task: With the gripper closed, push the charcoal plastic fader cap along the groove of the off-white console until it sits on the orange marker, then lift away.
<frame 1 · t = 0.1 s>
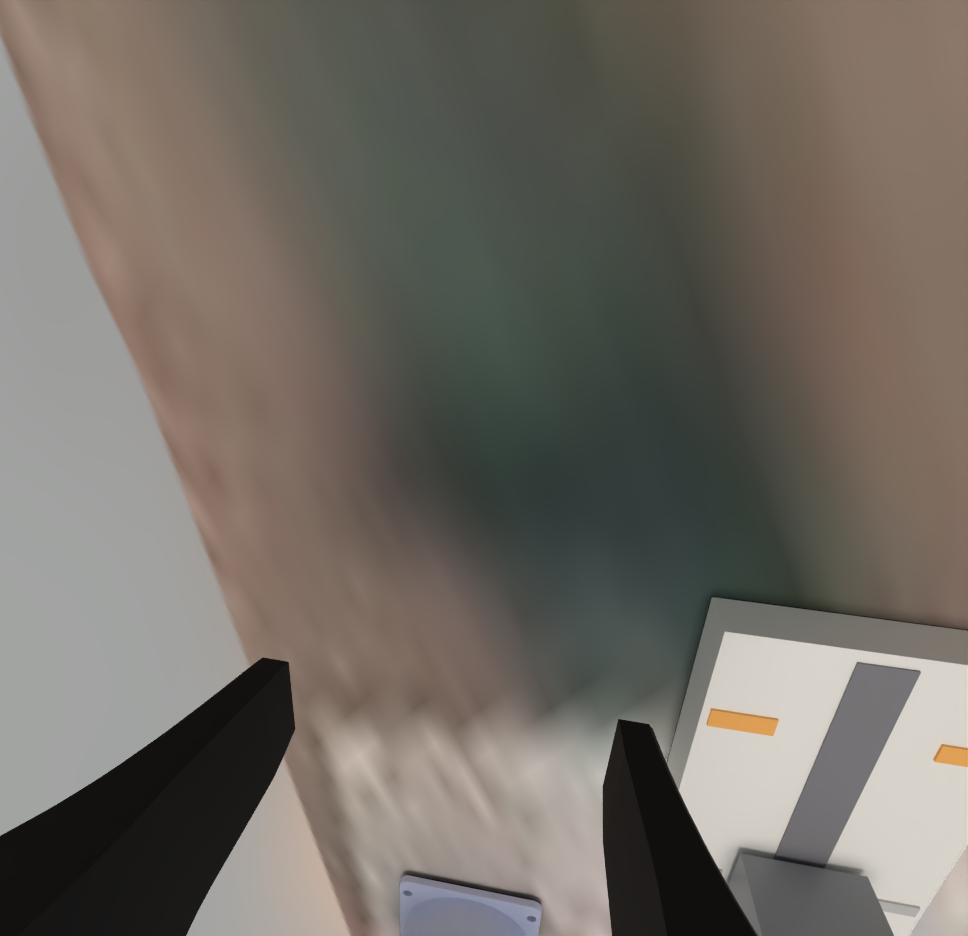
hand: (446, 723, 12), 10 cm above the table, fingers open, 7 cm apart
console: (799, 773, 24), on the table
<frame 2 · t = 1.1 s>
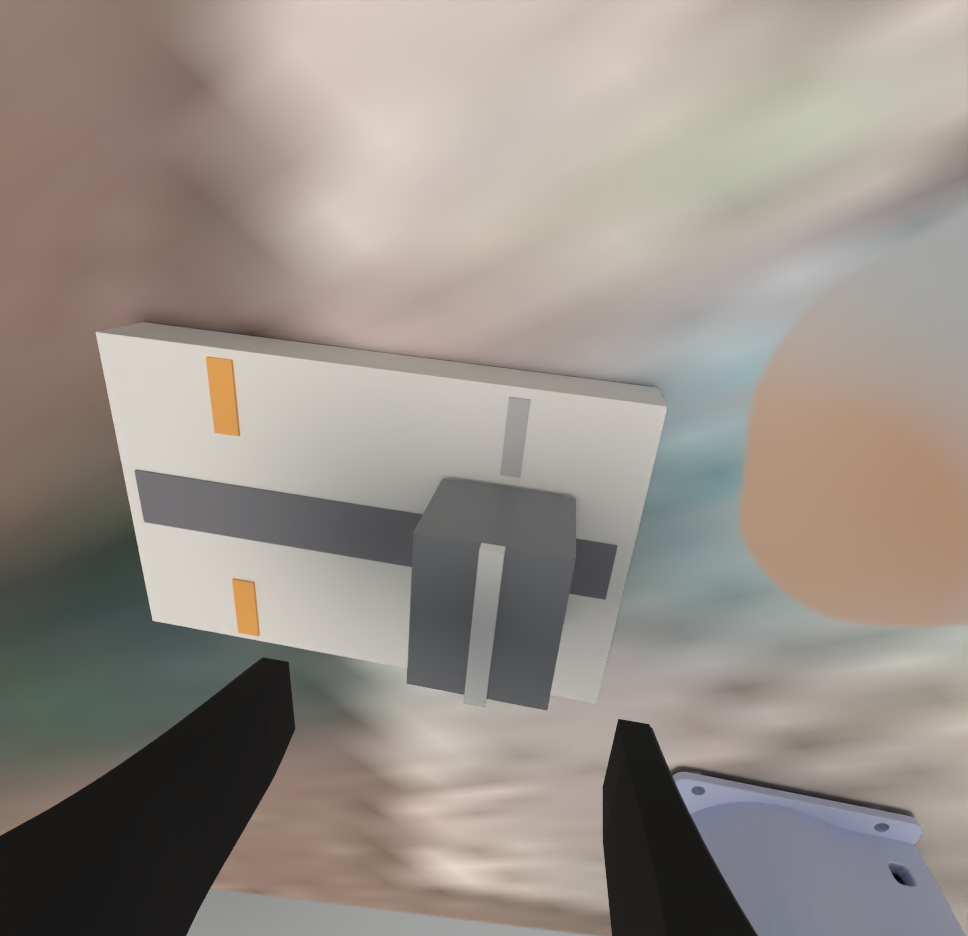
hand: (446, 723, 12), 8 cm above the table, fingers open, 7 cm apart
console: (384, 504, 20), on the table
fader cap: (491, 592, 16), point 4 cm above the table, slide at 0.0 cm
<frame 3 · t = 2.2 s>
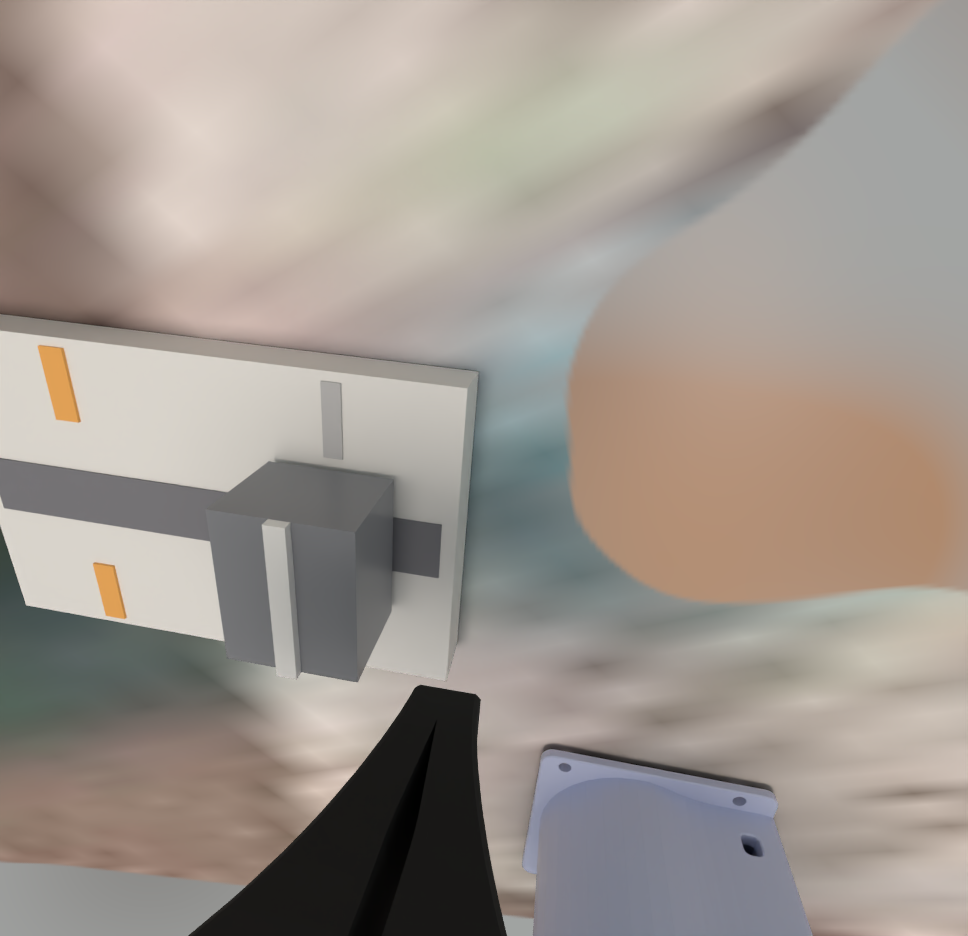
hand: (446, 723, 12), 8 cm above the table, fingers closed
console: (241, 489, 20), on the table
fader cap: (309, 570, 16), point 4 cm above the table, slide at 0.0 cm
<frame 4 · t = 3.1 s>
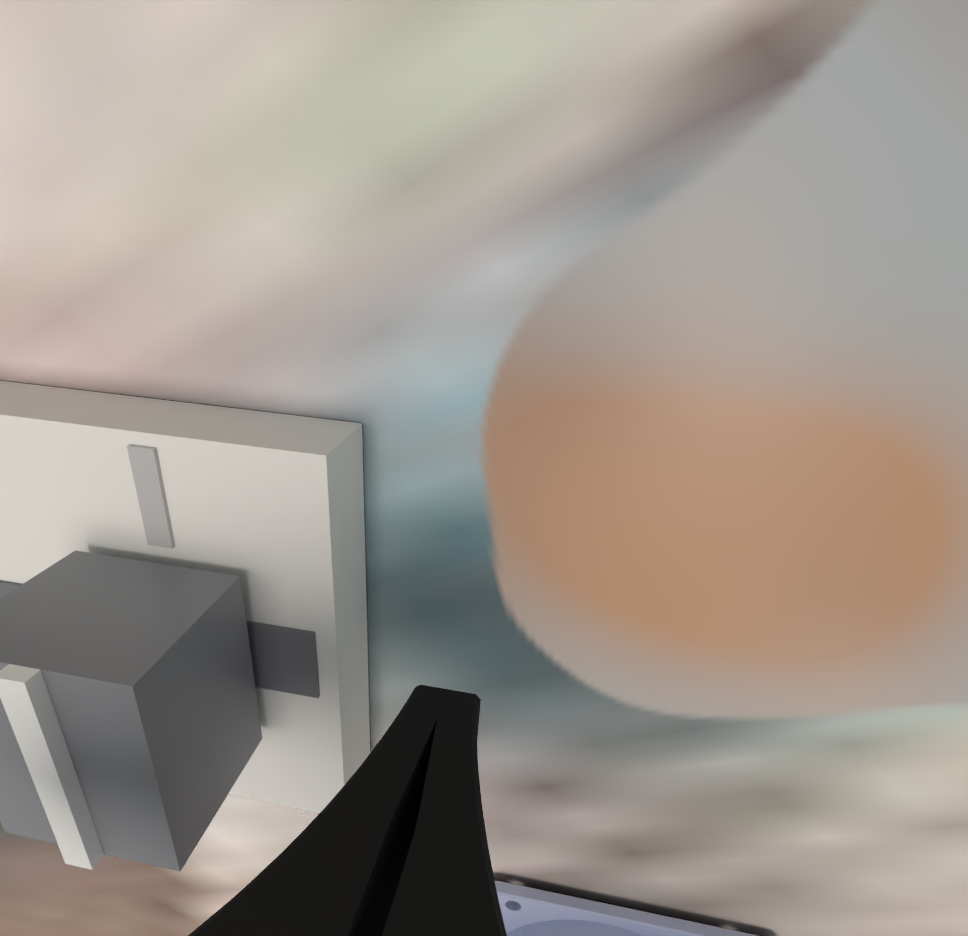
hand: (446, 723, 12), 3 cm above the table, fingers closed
console: (83, 569, 16), on the table
fader cap: (119, 707, 12), point 4 cm above the table, slide at 0.0 cm
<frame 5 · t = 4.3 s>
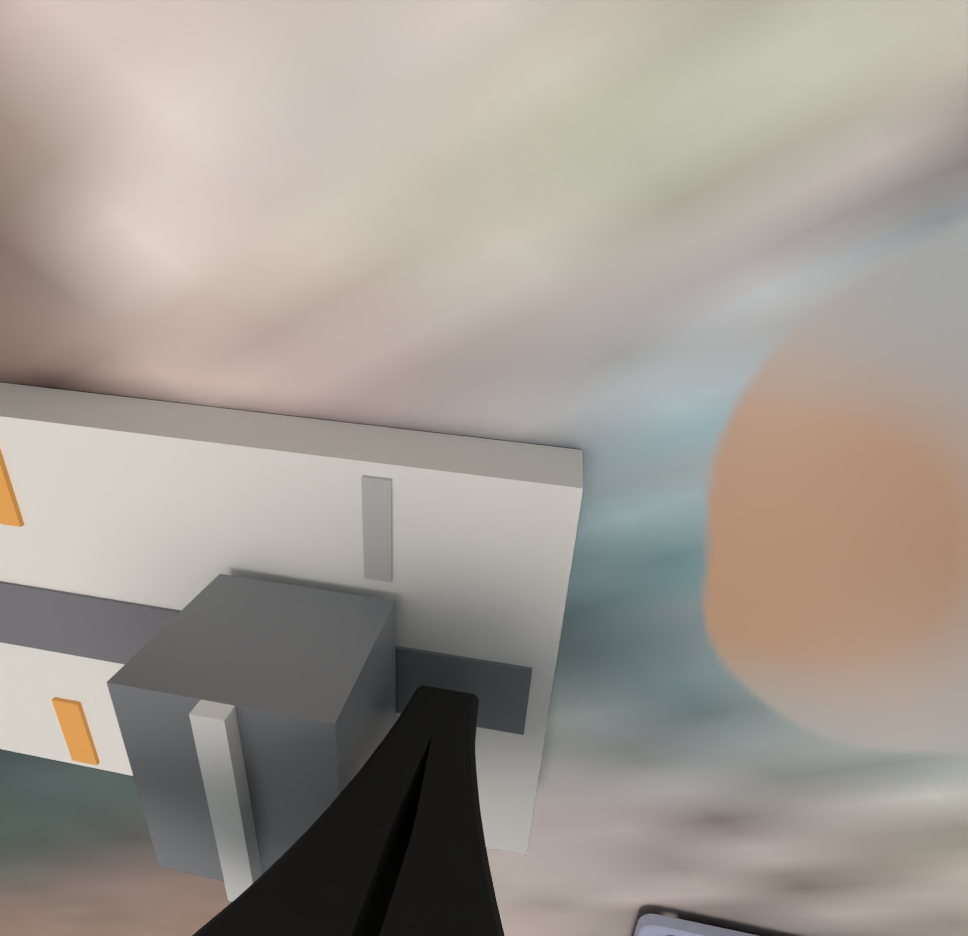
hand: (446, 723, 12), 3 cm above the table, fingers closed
console: (248, 596, 15), on the table
fader cap: (275, 737, 11), point 4 cm above the table, slide at 1.6 cm, touching gripper
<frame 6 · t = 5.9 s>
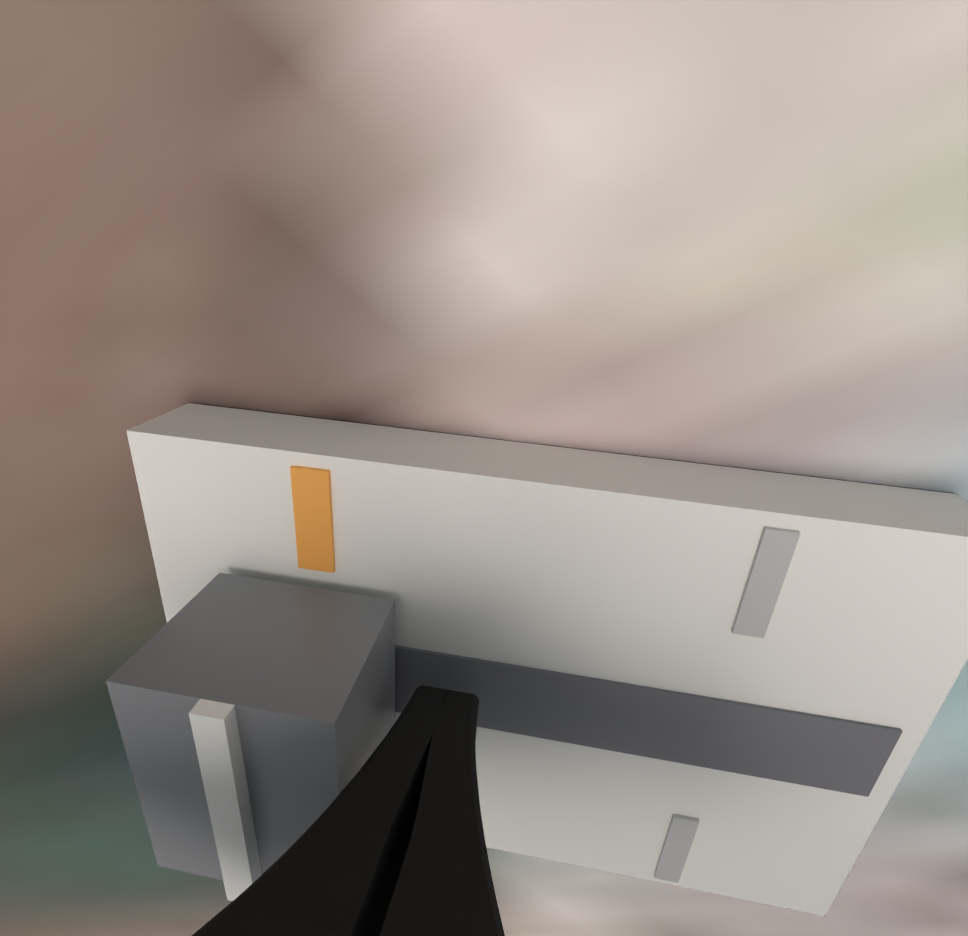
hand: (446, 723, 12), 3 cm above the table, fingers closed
console: (519, 639, 14), on the table
fader cap: (275, 736, 11), point 4 cm above the table, slide at 9.2 cm, touching gripper
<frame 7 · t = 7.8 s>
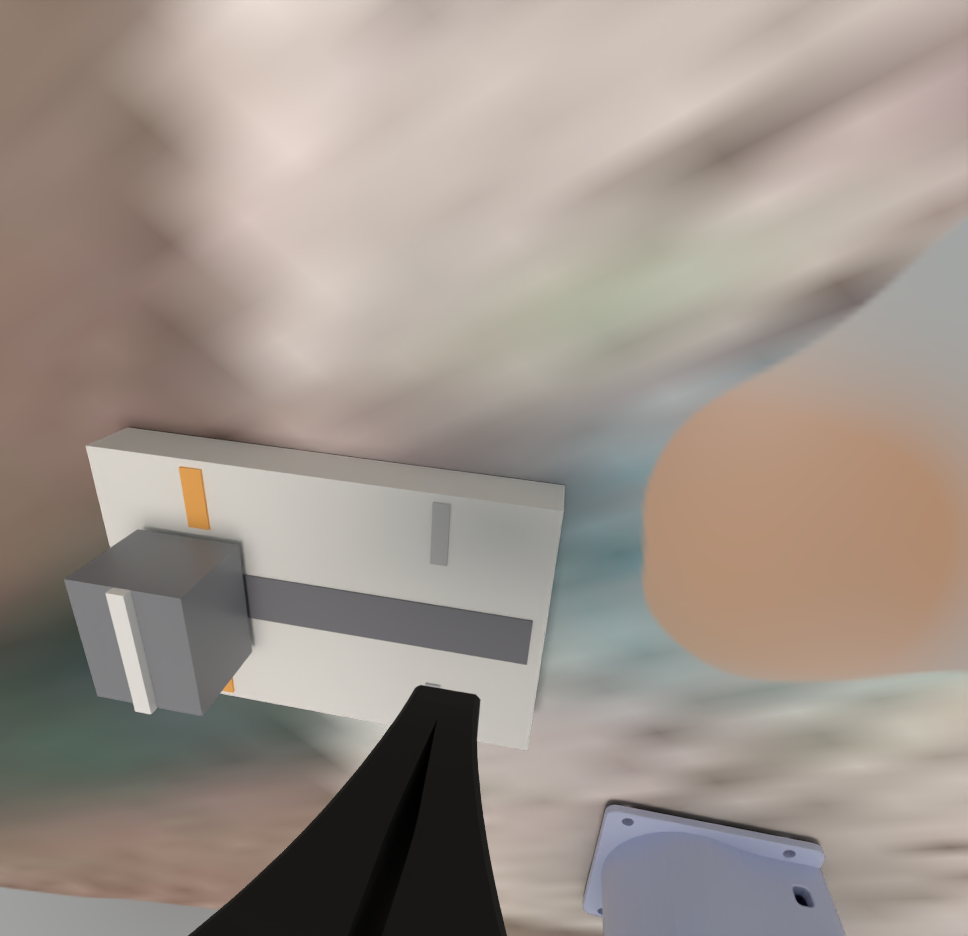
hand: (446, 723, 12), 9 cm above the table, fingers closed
console: (340, 577, 23), on the table
fader cap: (166, 622, 19), point 4 cm above the table, slide at 9.3 cm
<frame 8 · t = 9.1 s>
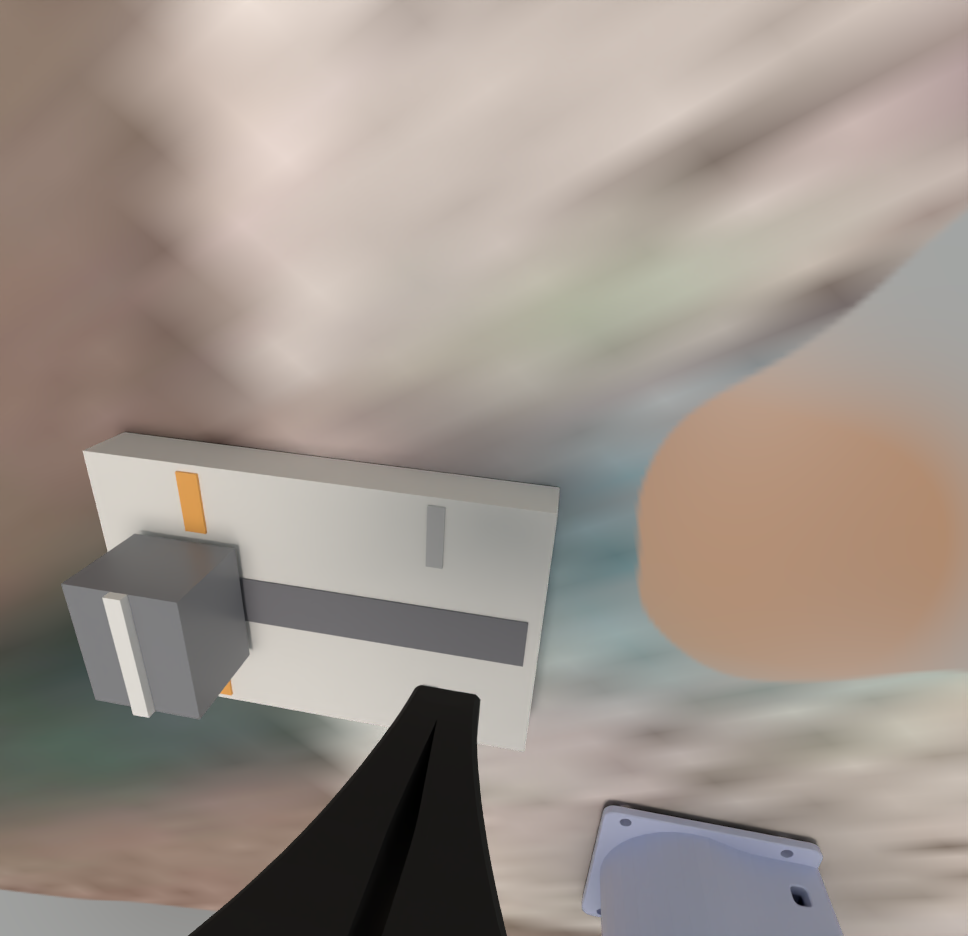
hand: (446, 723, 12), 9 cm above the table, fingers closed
console: (337, 580, 23), on the table
fader cap: (163, 626, 20), point 4 cm above the table, slide at 9.3 cm
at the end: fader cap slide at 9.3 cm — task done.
